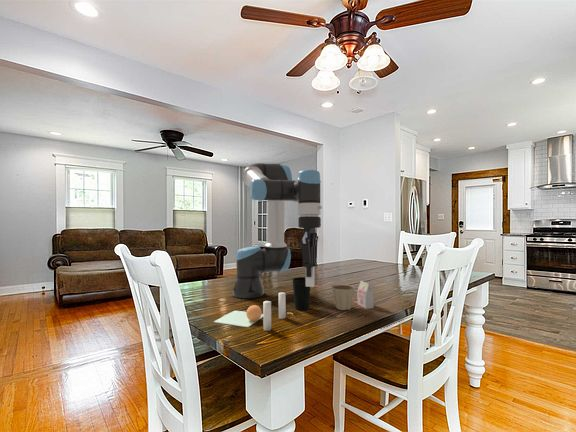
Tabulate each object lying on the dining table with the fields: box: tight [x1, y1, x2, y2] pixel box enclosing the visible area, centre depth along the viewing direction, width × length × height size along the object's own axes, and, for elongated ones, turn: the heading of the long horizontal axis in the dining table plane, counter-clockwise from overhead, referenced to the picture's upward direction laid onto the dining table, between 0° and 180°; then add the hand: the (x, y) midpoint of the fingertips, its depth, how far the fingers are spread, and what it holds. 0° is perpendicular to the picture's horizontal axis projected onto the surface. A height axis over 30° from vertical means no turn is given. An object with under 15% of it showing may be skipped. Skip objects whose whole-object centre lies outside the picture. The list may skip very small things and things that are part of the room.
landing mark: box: [213, 310, 263, 328], centre depth 106 cm, size 14×14×1 cm
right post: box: [278, 291, 287, 320], centre depth 107 cm, size 3×3×9 cm
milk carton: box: [356, 280, 374, 310], centre depth 121 cm, size 4×7×10 cm, turn 17°
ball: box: [245, 304, 263, 322], centre depth 103 cm, size 6×6×6 cm
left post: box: [262, 300, 272, 332], centre depth 95 cm, size 3×3×9 cm
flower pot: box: [331, 284, 356, 311], centre depth 118 cm, size 9×9×9 cm
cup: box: [291, 276, 311, 311], centre depth 118 cm, size 8×8×12 cm
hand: (310, 286), depth 96 cm, fingers closed
